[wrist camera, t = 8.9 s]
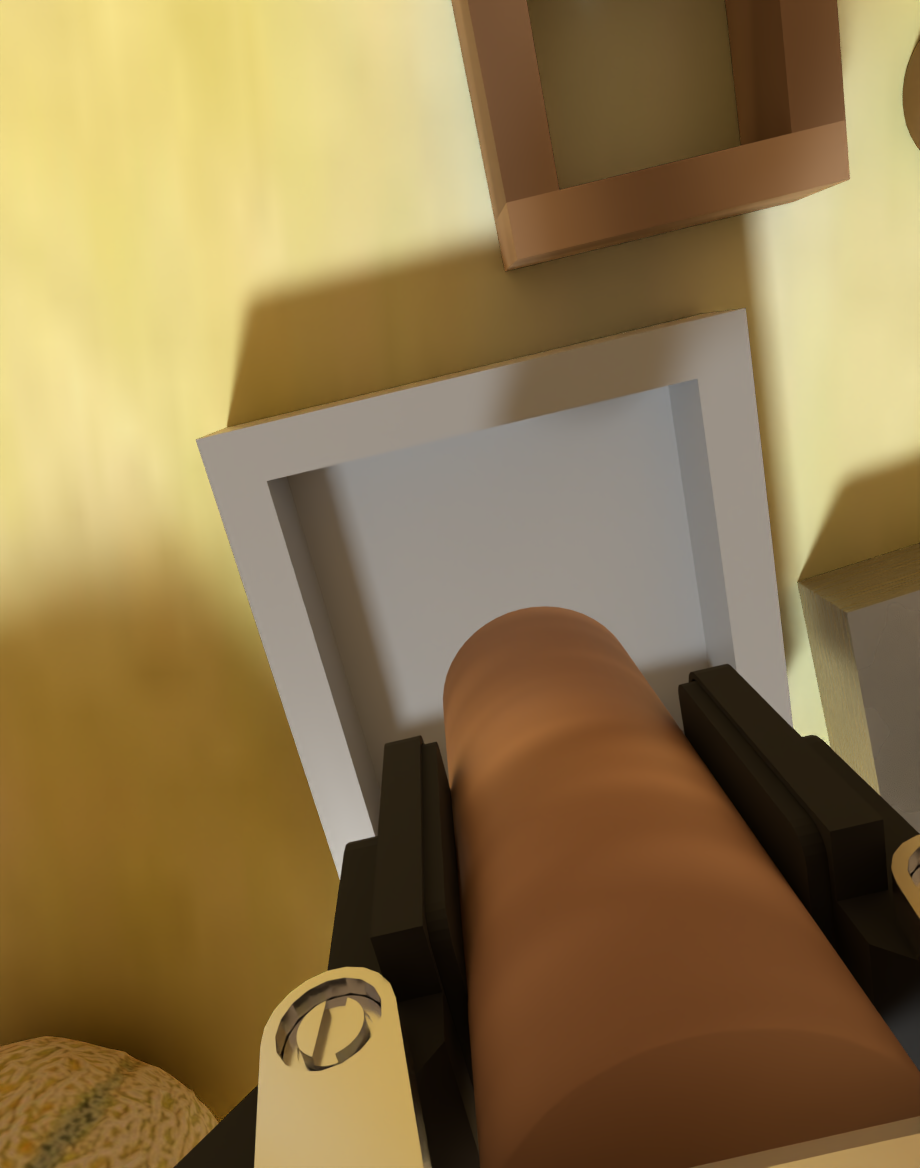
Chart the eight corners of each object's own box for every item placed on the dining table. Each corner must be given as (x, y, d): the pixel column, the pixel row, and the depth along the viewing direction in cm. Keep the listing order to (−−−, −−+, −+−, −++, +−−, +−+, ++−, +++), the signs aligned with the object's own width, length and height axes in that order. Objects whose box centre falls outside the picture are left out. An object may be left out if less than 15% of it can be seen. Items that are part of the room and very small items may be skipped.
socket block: (761, -157, 16) (819, -244, 14) (794, 201, 18) (849, 179, 16) (436, -75, 16) (438, -148, 14) (504, 271, 18) (517, 259, 16)
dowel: (618, 586, 14) (953, 976, 5) (649, 760, 15) (968, 1320, 6) (422, 632, 14) (435, 1096, 5) (466, 802, 15) (538, 1417, 6)
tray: (701, 313, 19) (745, 308, 16) (756, 741, 22) (800, 792, 20) (225, 427, 19) (195, 439, 17) (353, 833, 23) (344, 895, 20)
